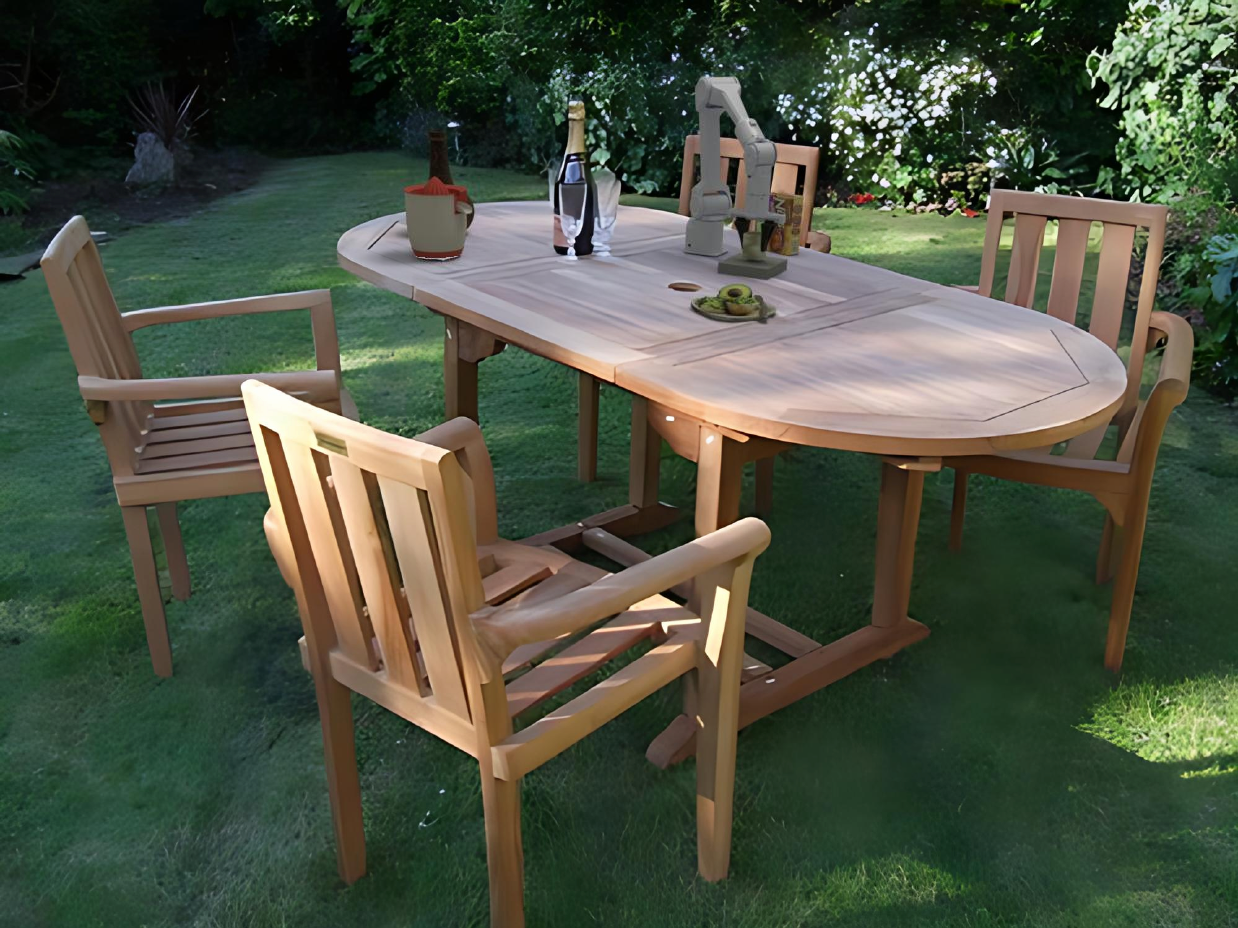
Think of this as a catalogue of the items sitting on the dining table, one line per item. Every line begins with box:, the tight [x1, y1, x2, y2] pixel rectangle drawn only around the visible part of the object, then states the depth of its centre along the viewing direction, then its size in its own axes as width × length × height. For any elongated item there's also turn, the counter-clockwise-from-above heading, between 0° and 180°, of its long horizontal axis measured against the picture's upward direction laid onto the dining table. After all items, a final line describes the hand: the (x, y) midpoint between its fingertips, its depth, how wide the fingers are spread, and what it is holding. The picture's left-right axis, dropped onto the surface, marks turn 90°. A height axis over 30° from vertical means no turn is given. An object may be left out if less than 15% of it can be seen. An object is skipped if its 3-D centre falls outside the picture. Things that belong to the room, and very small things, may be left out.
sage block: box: [741, 230, 767, 260], centre depth 273 cm, size 4×4×6 cm
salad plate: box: [690, 283, 777, 323], centre depth 238 cm, size 19×18×5 cm
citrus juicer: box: [402, 177, 472, 258], centre depth 279 cm, size 16×17×20 cm
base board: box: [717, 252, 788, 280], centre depth 275 cm, size 13×13×2 cm
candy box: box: [766, 191, 805, 256], centre depth 293 cm, size 9×4×15 cm, turn 39°
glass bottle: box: [425, 129, 476, 230], centre depth 304 cm, size 18×18×28 cm
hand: (753, 250), depth 273 cm, fingers closed on sage block, 4 cm apart
